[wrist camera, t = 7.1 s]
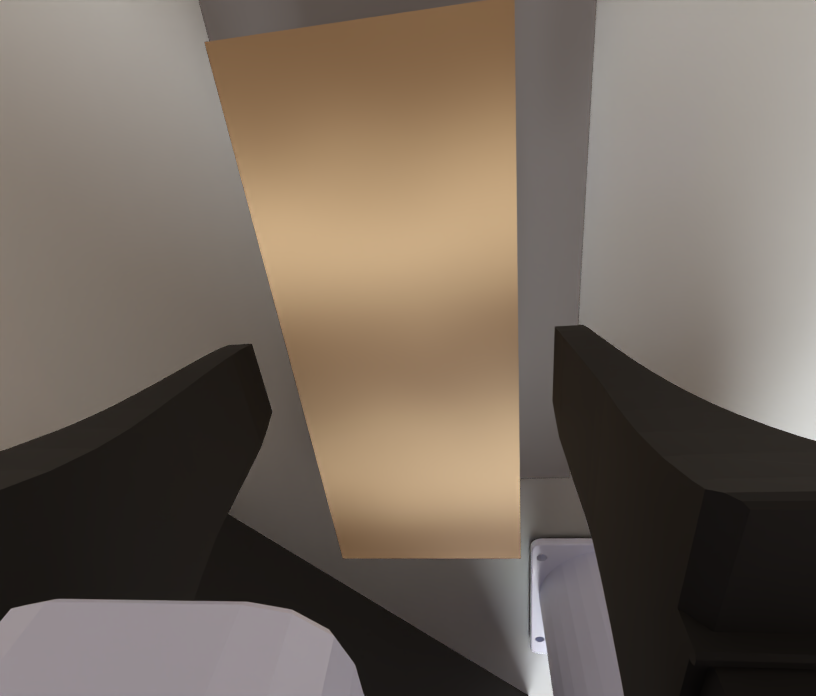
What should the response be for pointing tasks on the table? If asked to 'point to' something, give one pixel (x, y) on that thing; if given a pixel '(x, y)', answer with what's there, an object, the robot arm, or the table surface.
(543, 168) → the peg stand
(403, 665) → the binder
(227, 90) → the shelf board
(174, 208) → the table surface
